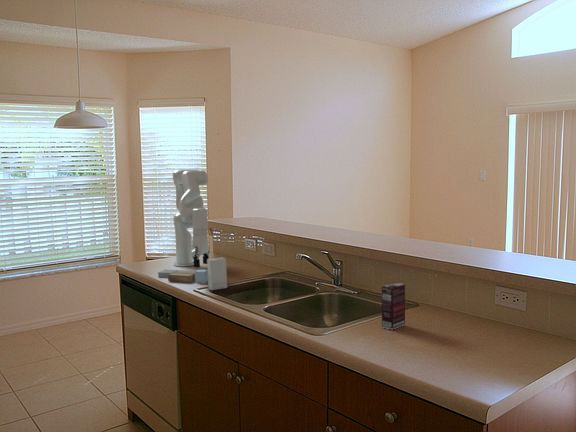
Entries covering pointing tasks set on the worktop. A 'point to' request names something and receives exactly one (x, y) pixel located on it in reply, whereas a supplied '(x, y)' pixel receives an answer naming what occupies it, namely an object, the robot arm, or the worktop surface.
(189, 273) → the walnut slab
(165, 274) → the slate coaster
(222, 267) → the skincare box
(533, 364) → the worktop surface
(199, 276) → the blue block
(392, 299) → the supplement box
